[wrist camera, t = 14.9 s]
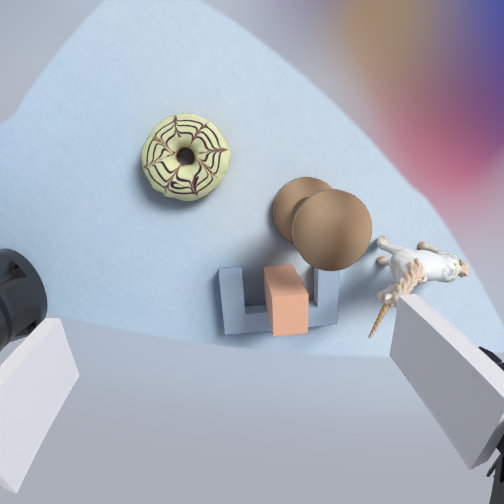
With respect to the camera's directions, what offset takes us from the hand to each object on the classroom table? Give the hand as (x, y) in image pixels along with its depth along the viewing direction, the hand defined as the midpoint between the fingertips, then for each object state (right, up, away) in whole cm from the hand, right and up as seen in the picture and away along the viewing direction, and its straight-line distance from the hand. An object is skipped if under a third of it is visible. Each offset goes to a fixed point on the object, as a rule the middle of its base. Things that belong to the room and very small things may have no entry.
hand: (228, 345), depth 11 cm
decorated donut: (-7, +15, +28) cm, 33 cm away
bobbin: (+8, +9, +31) cm, 33 cm away
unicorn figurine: (+22, +1, +35) cm, 41 cm away
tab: (+5, -1, +34) cm, 34 cm away
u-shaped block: (+5, -3, +34) cm, 34 cm away
